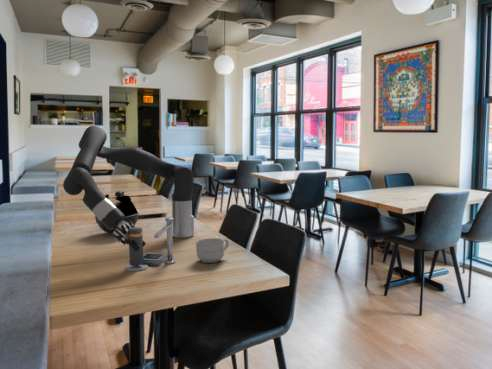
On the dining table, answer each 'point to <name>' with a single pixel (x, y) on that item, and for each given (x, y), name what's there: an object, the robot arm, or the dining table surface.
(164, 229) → the gray square bar
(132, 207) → the bowl of black rocks
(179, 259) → the dining table surface
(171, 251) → the post
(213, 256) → the teacup
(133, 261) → the plug
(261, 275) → the dining table surface
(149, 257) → the socket
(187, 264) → the dining table surface
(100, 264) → the dining table surface
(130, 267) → the mat
